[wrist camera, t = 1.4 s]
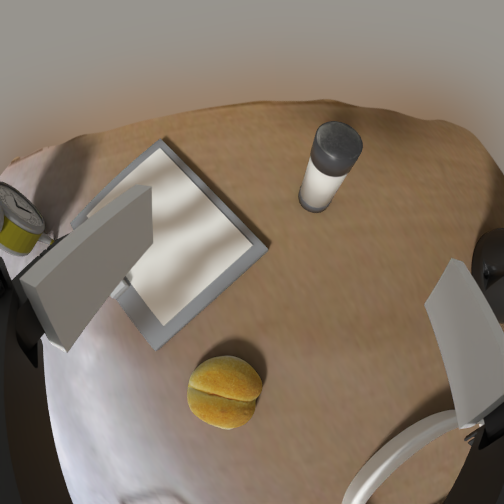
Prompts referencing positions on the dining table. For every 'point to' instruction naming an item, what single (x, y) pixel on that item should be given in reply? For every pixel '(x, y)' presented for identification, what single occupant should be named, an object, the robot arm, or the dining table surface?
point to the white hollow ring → (398, 454)
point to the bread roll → (224, 391)
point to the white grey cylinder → (328, 164)
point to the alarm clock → (19, 223)
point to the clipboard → (177, 245)
